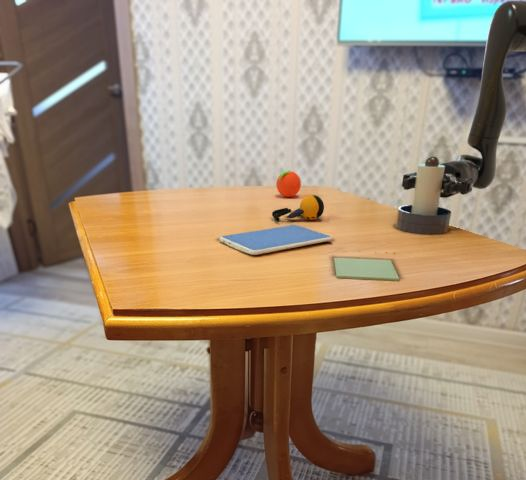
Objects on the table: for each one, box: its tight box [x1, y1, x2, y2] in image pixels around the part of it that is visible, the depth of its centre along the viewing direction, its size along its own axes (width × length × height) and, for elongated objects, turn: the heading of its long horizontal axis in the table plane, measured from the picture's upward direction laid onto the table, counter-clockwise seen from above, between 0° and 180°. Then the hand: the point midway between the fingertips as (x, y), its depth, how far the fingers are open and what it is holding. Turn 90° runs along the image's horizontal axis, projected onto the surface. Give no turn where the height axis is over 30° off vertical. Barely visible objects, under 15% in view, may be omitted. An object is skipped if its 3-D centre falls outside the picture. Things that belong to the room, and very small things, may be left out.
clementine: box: [275, 170, 302, 198], centre depth 142 cm, size 8×7×7 cm
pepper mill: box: [411, 155, 445, 215], centre depth 108 cm, size 5×5×15 cm
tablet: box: [219, 224, 333, 256], centre depth 100 cm, size 19×13×1 cm, turn 125°
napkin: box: [333, 257, 400, 282], centre depth 86 cm, size 10×10×1 cm
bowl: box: [395, 204, 452, 235], centre depth 111 cm, size 11×11×4 cm
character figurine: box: [271, 194, 325, 222], centre depth 119 cm, size 10×6×12 cm
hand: (425, 187), depth 106 cm, fingers open, 8 cm apart
